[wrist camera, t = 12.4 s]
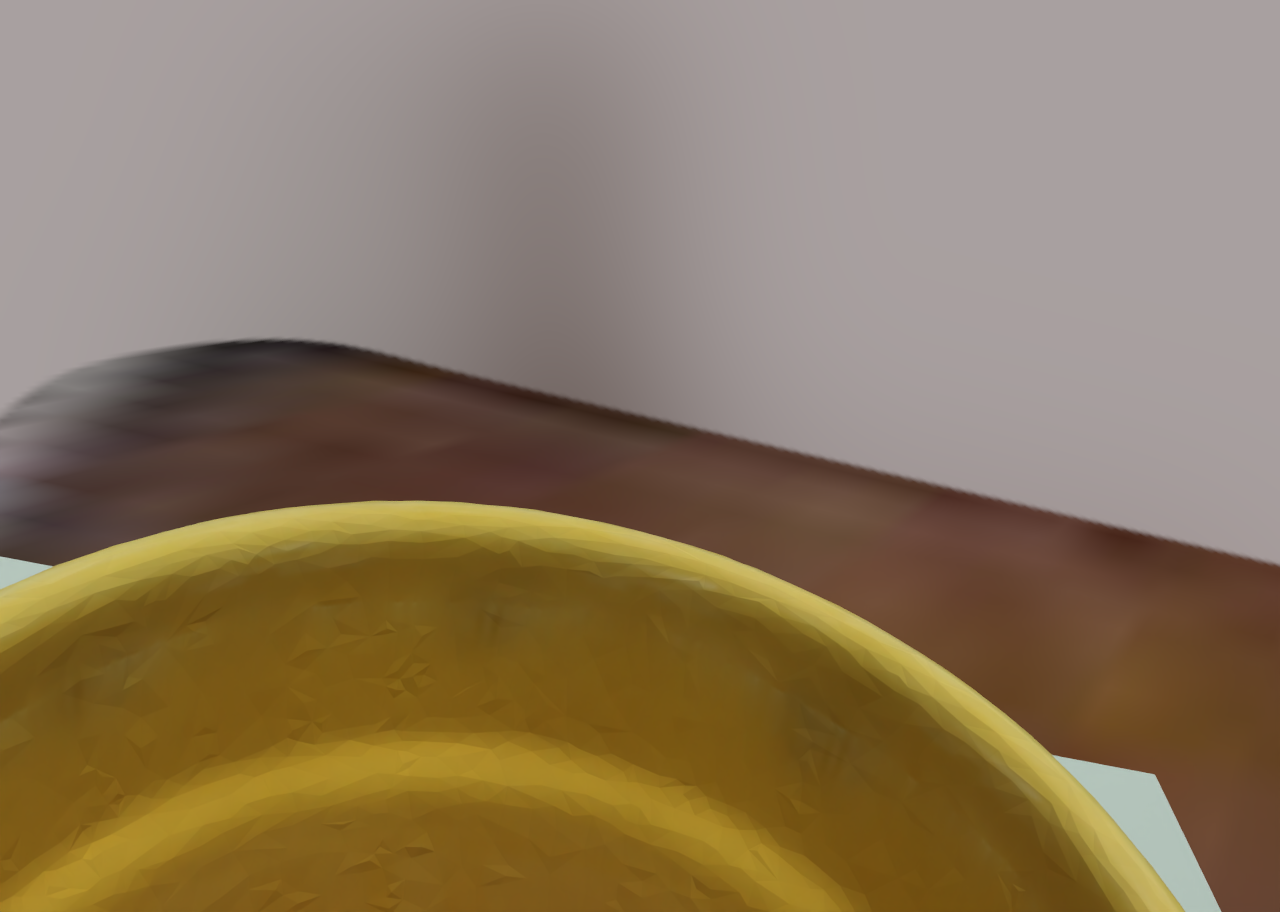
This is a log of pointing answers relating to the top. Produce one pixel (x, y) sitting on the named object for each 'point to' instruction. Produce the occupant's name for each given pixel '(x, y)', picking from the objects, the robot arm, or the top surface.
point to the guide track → (1116, 789)
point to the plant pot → (505, 734)
